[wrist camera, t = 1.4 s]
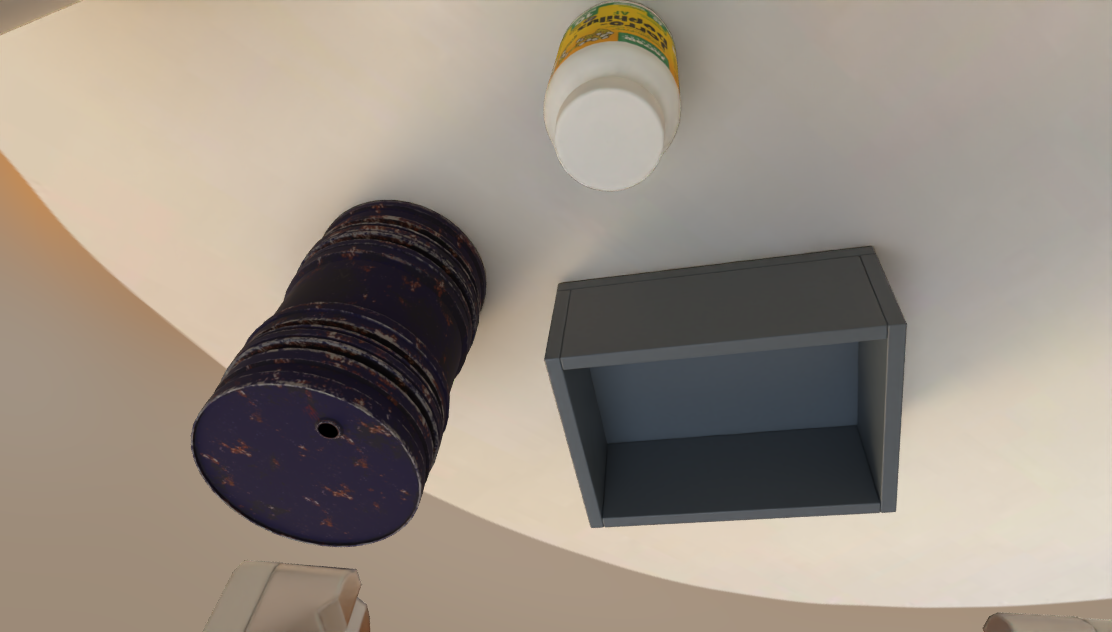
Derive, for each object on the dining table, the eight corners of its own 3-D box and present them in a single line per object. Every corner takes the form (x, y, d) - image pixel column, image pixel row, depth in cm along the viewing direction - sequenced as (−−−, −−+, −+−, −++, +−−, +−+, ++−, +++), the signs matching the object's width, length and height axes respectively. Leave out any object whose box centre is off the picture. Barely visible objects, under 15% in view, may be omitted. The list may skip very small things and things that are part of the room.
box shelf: (872, 245, 40) (907, 323, 34) (868, 423, 47) (896, 512, 41) (558, 282, 43) (543, 359, 38) (597, 444, 50) (590, 528, 45)
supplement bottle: (554, 107, 37) (527, 199, 29) (565, -10, 34) (537, 58, 26) (666, 120, 37) (668, 217, 29) (687, 4, 34) (695, 78, 26)
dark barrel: (445, 369, 48) (374, 576, 36) (296, 298, 46) (166, 492, 34) (518, 252, 42) (463, 450, 30) (351, 165, 40) (220, 339, 28)
